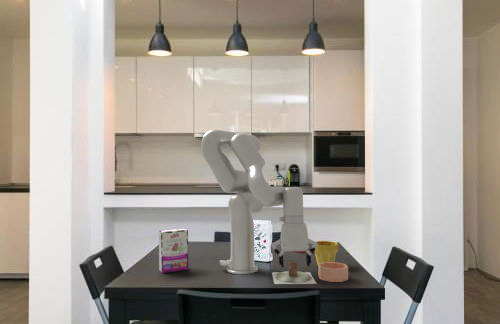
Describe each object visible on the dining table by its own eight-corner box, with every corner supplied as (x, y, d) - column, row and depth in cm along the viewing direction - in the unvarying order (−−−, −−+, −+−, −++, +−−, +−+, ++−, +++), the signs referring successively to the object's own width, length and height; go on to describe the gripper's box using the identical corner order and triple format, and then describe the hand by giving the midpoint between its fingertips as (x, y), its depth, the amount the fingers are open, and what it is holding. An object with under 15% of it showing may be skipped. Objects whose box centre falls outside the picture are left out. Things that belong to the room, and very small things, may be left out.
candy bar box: (184, 267, 163) (185, 228, 163) (188, 270, 158) (188, 229, 159) (158, 270, 158) (158, 230, 158) (161, 273, 153) (161, 231, 153)
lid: (277, 283, 139) (277, 266, 139) (274, 273, 152) (274, 258, 152) (313, 282, 139) (313, 266, 139) (307, 273, 152) (307, 258, 152)
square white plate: (274, 285, 138) (274, 283, 138) (271, 273, 153) (271, 272, 153) (316, 285, 138) (316, 283, 138) (309, 273, 153) (309, 272, 153)
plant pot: (319, 270, 158) (319, 245, 158) (309, 264, 168) (309, 241, 168) (342, 268, 161) (342, 244, 161) (330, 262, 171) (330, 240, 171)
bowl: (322, 283, 140) (322, 269, 140) (316, 275, 151) (316, 262, 151) (350, 282, 141) (350, 269, 141) (343, 275, 151) (343, 262, 151)
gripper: (271, 221, 142) (272, 269, 141) (318, 220, 142) (320, 267, 141) (269, 219, 149) (271, 264, 149) (314, 218, 149) (316, 263, 149)
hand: (295, 266), depth 145 cm, fingers open, 9 cm apart
